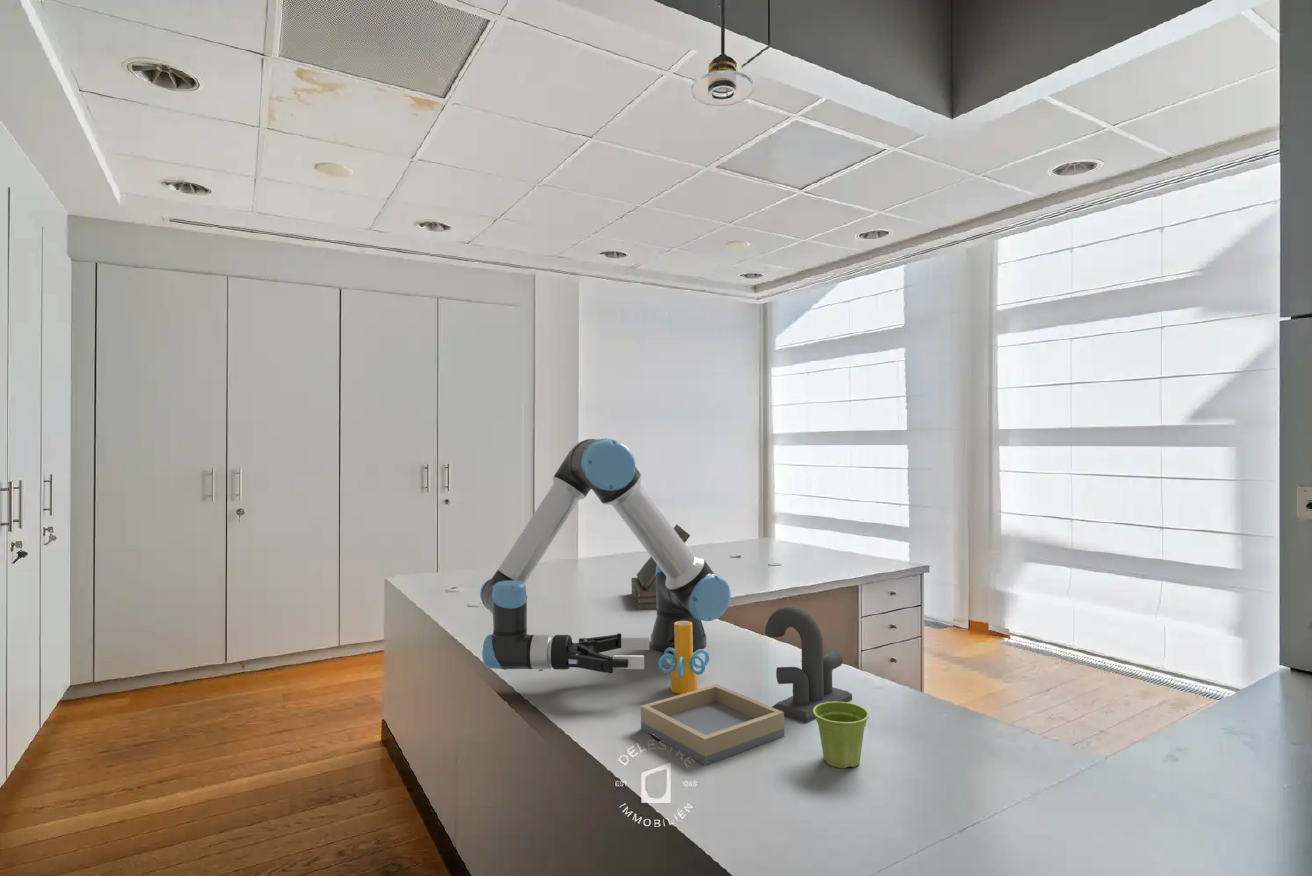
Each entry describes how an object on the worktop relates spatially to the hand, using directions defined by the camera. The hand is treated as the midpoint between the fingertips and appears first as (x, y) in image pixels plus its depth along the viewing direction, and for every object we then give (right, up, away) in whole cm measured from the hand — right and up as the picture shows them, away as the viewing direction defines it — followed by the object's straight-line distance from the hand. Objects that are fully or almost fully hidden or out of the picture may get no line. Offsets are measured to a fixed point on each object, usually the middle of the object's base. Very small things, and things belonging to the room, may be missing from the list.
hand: (646, 652), depth 161 cm
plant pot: (+34, -8, -36) cm, 50 cm away
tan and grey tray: (+13, -8, -23) cm, 28 cm away
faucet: (+32, -8, -8) cm, 34 cm away
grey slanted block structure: (+5, -8, +86) cm, 87 cm away
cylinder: (+8, -9, 0) cm, 12 cm away
